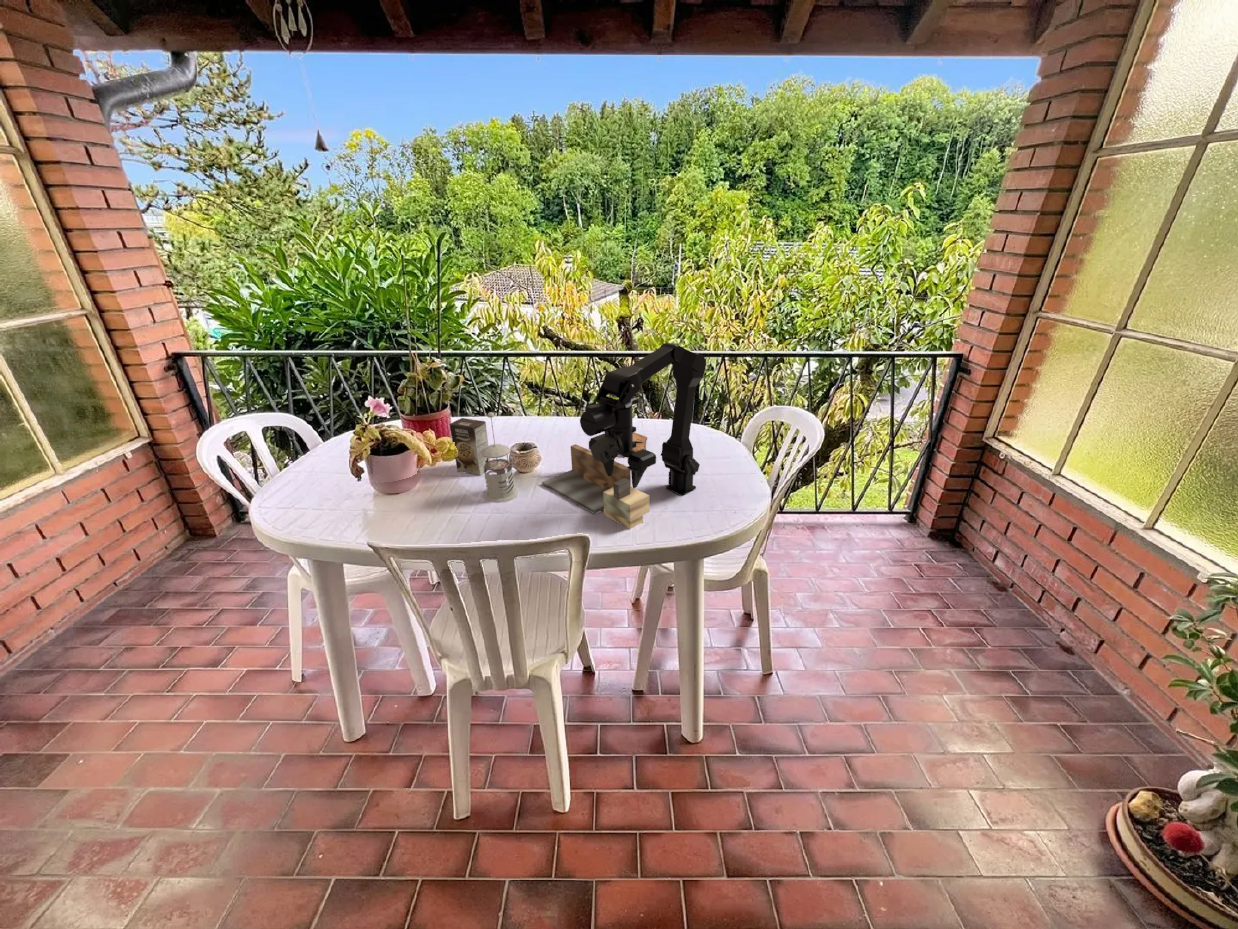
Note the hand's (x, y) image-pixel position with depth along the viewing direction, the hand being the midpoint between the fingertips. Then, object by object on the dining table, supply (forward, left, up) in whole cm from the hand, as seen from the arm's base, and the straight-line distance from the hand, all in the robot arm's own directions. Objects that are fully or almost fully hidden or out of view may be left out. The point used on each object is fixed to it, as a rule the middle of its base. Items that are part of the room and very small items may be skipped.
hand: (621, 481), depth 132 cm
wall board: (+19, -3, -11) cm, 22 cm away
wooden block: (0, -1, -11) cm, 11 cm away
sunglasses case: (+31, -36, -12) cm, 49 cm away
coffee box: (+55, +13, -11) cm, 58 cm away
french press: (+35, +15, -11) cm, 39 cm away
